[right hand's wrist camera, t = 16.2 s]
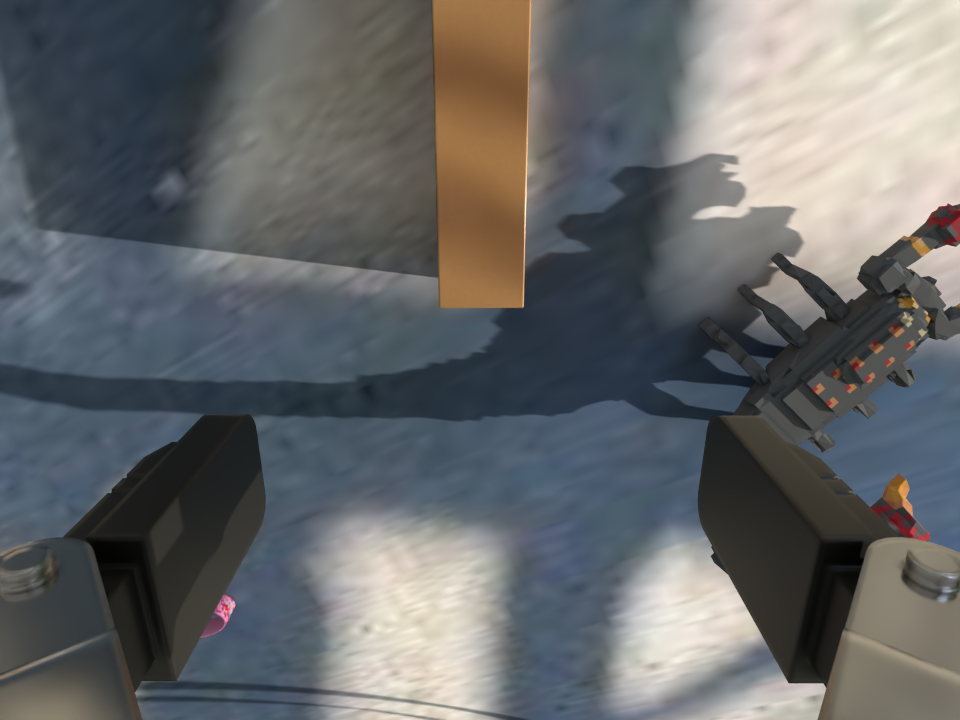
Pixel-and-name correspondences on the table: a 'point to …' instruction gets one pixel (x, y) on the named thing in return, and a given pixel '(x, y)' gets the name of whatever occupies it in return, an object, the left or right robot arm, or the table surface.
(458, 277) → the beam
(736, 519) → the right robot arm
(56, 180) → the table surface
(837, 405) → the toy
